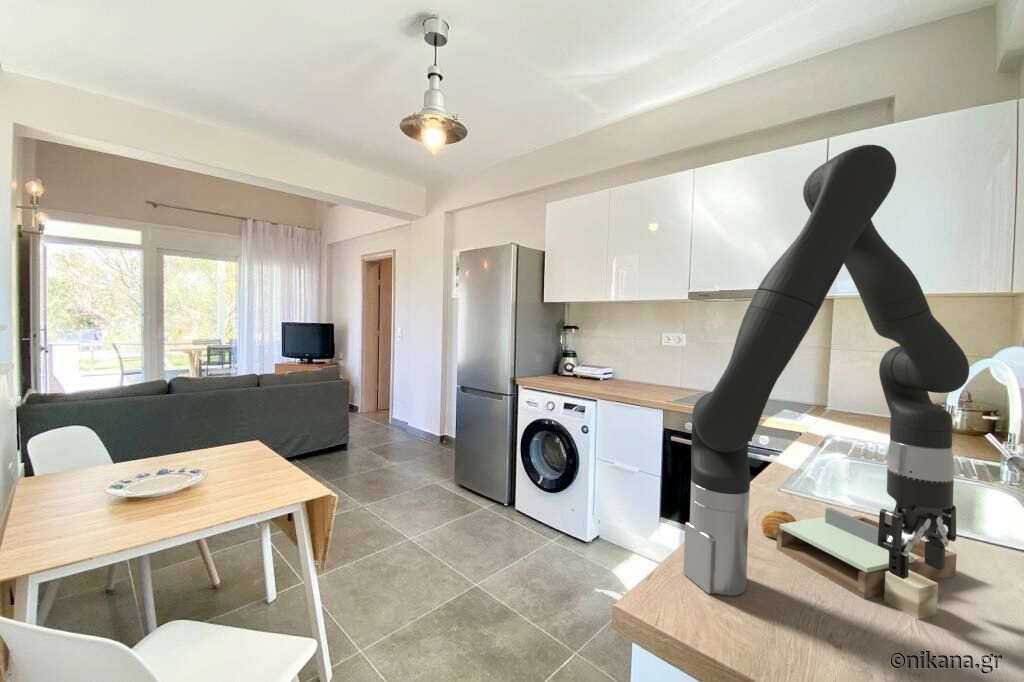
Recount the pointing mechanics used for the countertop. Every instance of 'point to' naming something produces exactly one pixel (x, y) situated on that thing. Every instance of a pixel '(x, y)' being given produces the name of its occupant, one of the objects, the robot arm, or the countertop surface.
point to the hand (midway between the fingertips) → (916, 571)
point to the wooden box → (852, 576)
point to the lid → (844, 539)
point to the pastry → (775, 522)
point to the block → (912, 594)
